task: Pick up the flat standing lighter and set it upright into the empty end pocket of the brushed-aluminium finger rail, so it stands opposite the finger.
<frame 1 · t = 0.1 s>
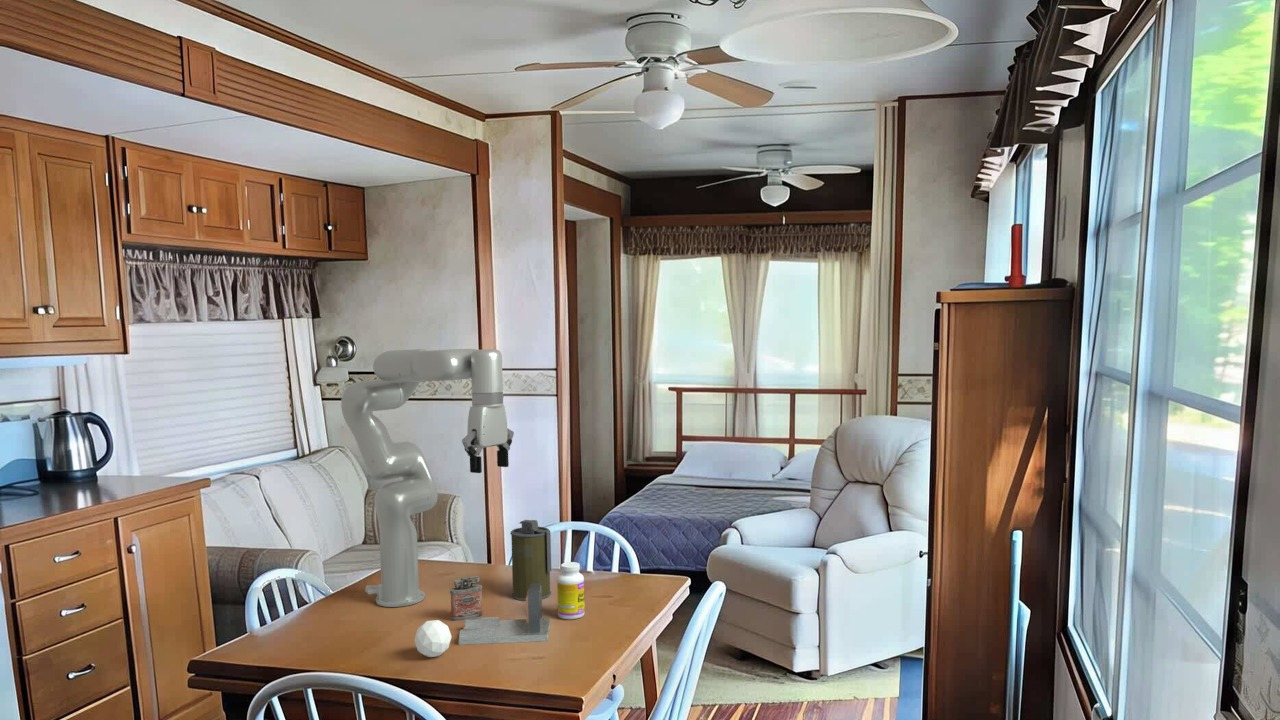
hand: (489, 469, 203), 37 cm above the table, tool pointing down, fingers open, 9 cm apart
lighter: (467, 618, 207), on the table
geometric ball: (433, 656, 182), on the table
canister: (532, 595, 223), on the table
supplement bottle: (571, 616, 206), on the table
finger rail: (505, 634, 194), on the table
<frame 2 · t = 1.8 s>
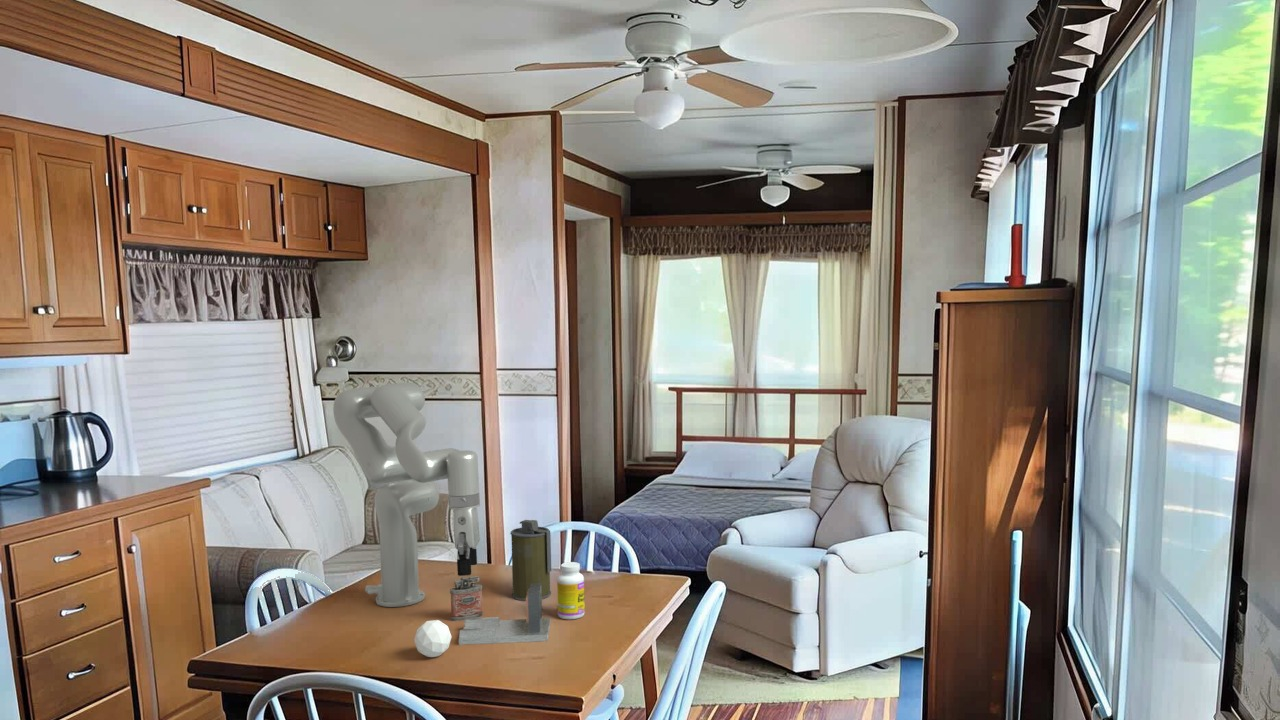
hand: (467, 569, 206), 12 cm above the table, tool pointing down, fingers open, 9 cm apart
nothing on the table moved.
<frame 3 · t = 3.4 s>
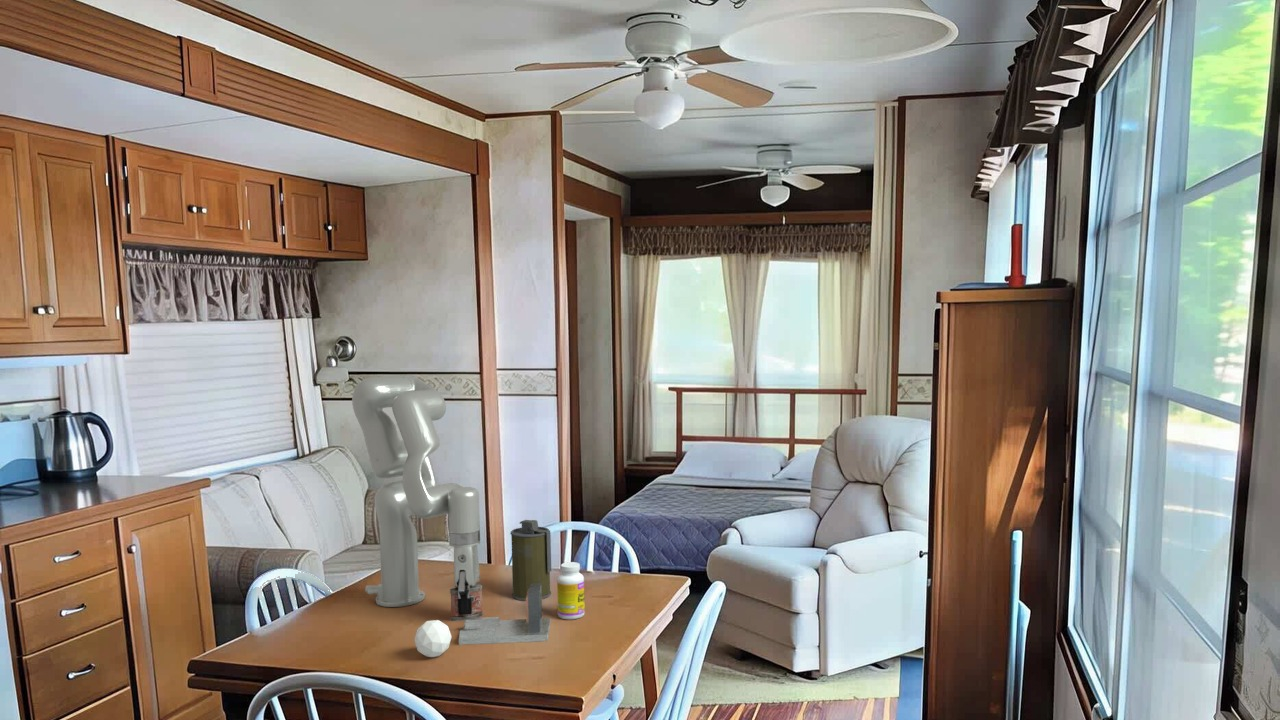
hand: (466, 610, 207), 2 cm above the table, tool pointing down, fingers closed on lighter, 4 cm apart
lighter: (467, 618, 207), on the table, touching gripper
everything else where it was.
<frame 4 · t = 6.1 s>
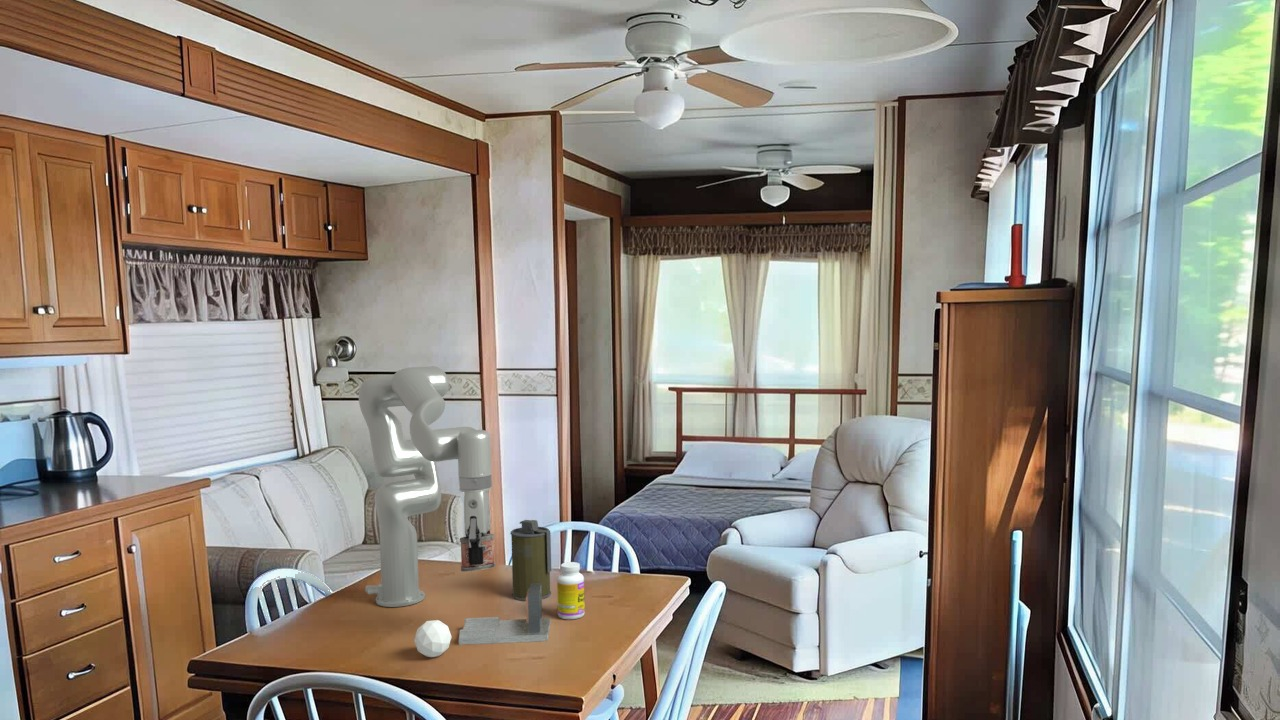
hand: (477, 560, 194), 18 cm above the table, tool pointing down, fingers closed on lighter, 4 cm apart
lighter: (478, 569, 194), point 15 cm above the table, touching gripper
everything else where it was.
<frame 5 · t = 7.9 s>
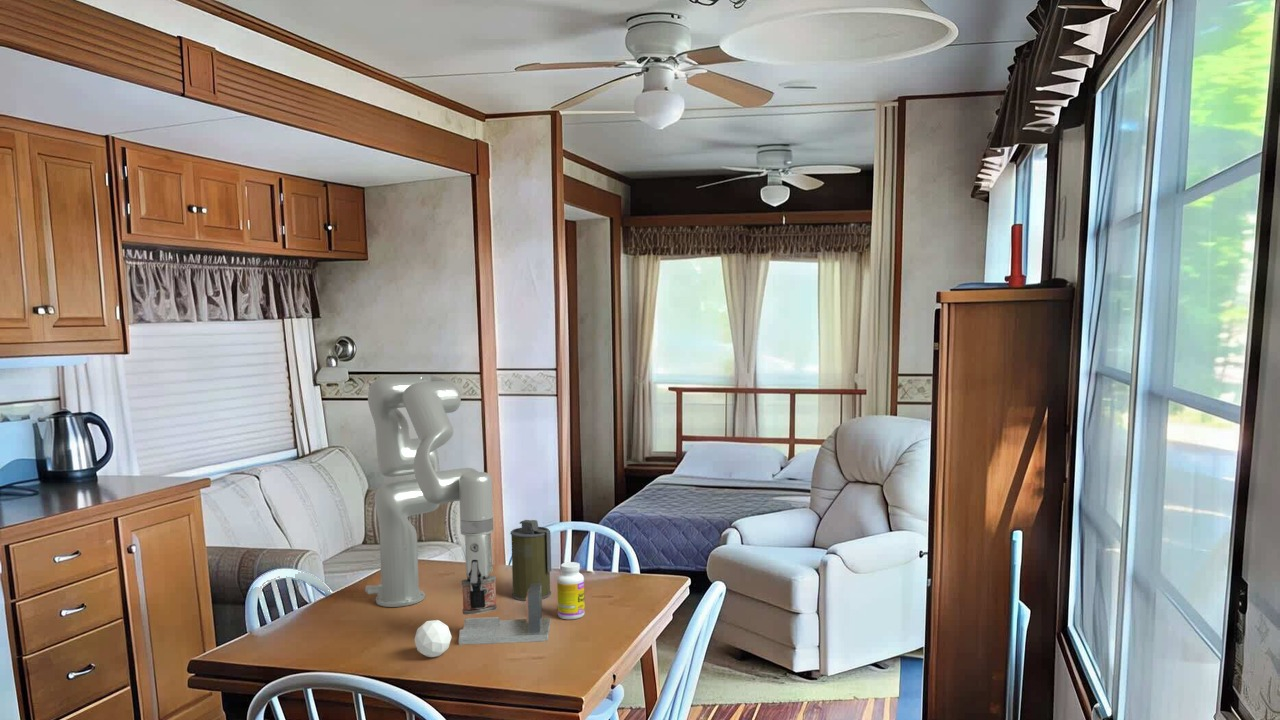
hand: (479, 603, 194), 8 cm above the table, tool pointing down, fingers closed on lighter, 4 cm apart
lighter: (479, 611, 194), point 6 cm above the table, touching gripper
everything else where it was.
when the fingers open (4 cm above the table, at t = 9.1 s): lighter stays where it is, resting on finger rail.
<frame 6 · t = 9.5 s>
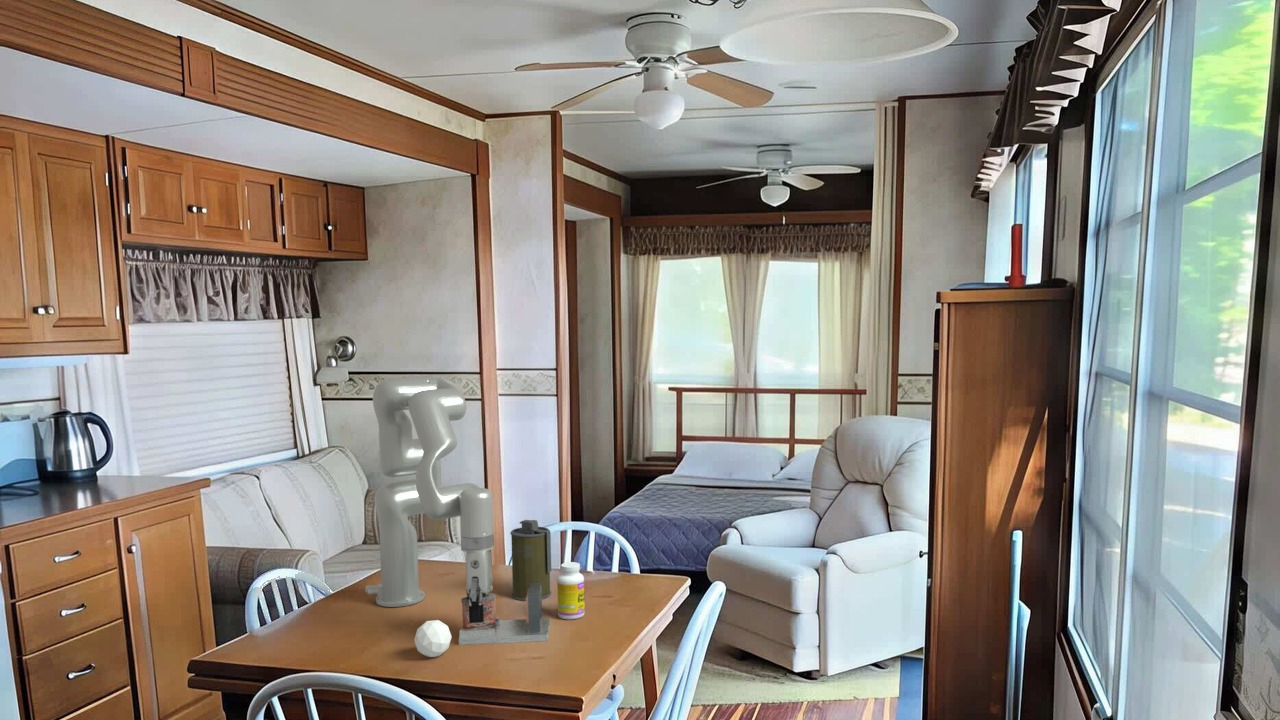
hand: (479, 615, 194), 5 cm above the table, tool pointing down, fingers open, 9 cm apart
lighter: (479, 629, 194), point 1 cm above the table, touching finger rail
everything else where it was.
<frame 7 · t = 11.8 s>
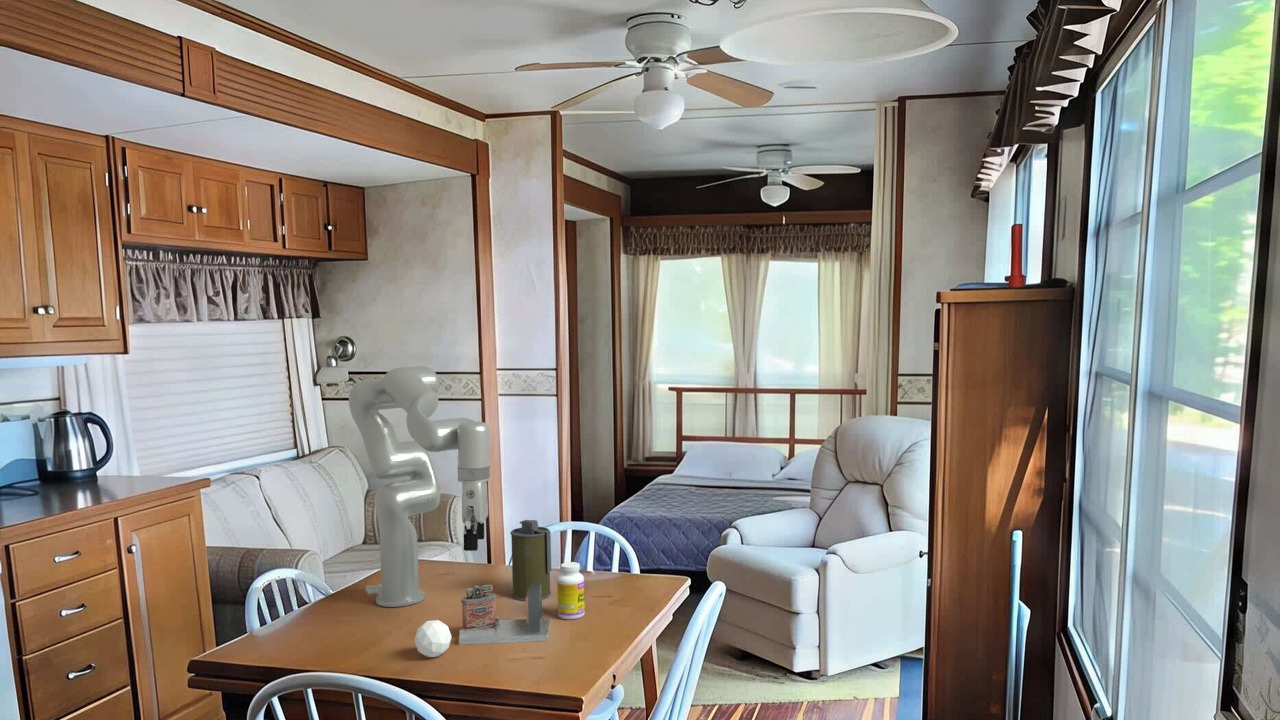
hand: (474, 544, 199), 20 cm above the table, tool pointing down, fingers open, 9 cm apart
nothing on the table moved.
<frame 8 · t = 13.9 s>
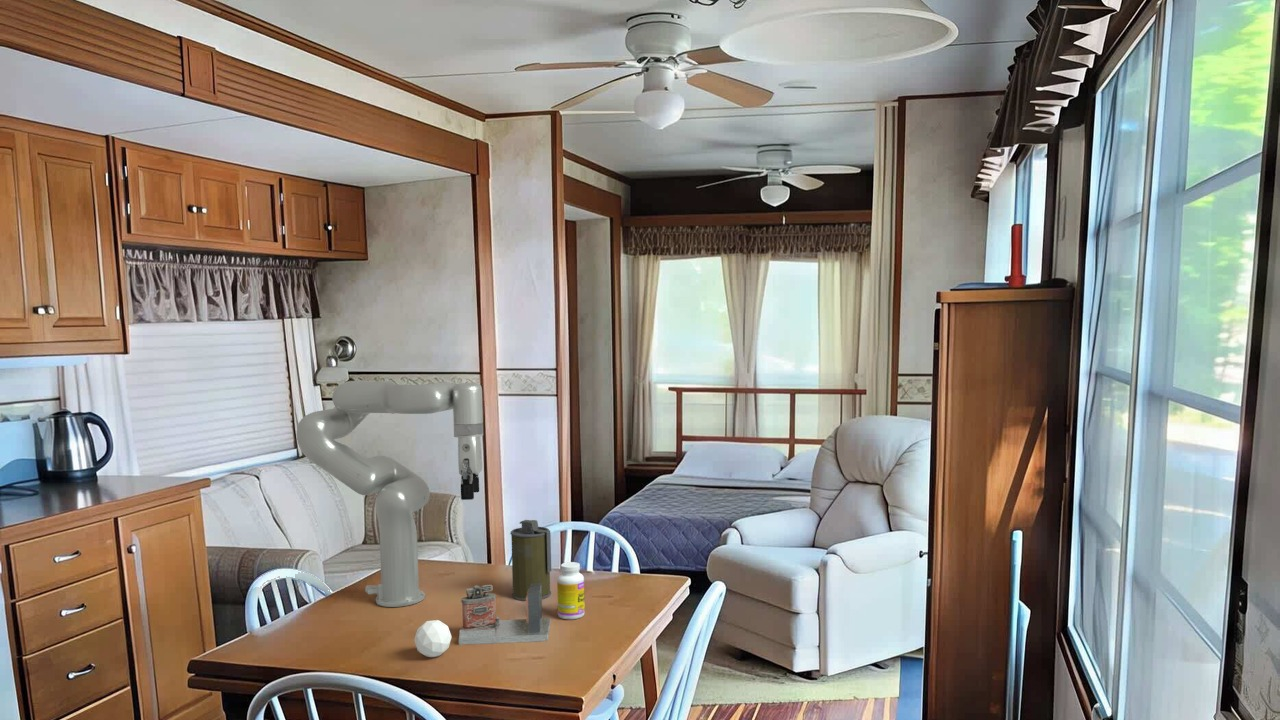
hand: (470, 495, 217), 28 cm above the table, tool pointing down, fingers open, 9 cm apart
nothing on the table moved.
at the end: lighter 0.2 cm from the target spot on the finger rail, point 1.3 cm above the finger rail's base; lighter tilted 0°; the gripper is holding nothing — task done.
